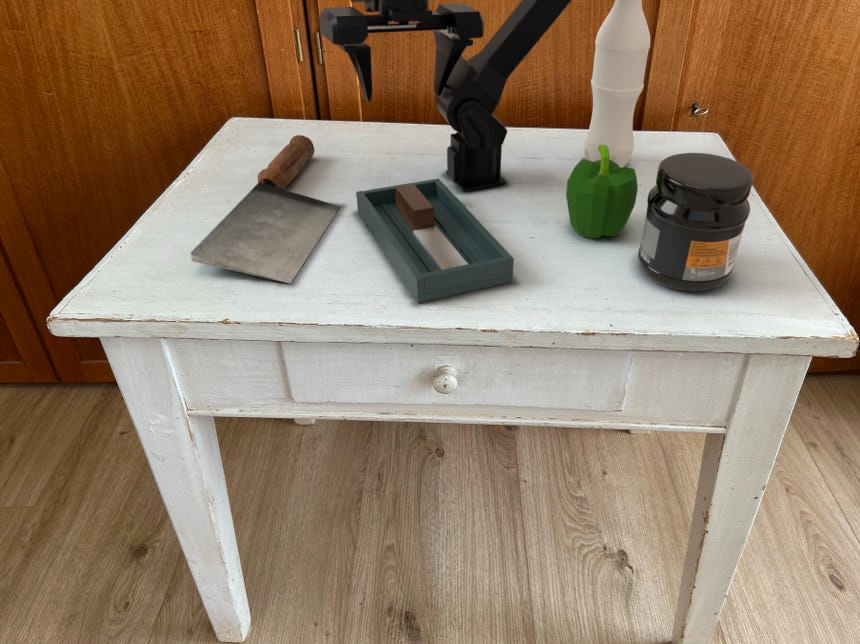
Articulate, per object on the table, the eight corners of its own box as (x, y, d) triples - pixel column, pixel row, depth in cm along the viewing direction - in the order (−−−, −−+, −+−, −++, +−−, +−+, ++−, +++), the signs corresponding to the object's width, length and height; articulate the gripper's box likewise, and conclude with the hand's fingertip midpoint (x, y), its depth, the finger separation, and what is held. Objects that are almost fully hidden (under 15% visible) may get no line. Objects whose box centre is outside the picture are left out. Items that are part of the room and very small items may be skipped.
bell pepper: (624, 251, 83) (637, 171, 77) (556, 239, 85) (564, 160, 79) (635, 220, 89) (648, 143, 83) (571, 210, 91) (580, 134, 85)
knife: (416, 205, 89) (415, 183, 87) (470, 270, 77) (470, 246, 75) (393, 209, 88) (392, 186, 86) (444, 275, 76) (444, 251, 74)
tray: (439, 199, 93) (438, 178, 91) (512, 282, 77) (513, 258, 75) (357, 213, 89) (355, 191, 87) (417, 303, 73) (416, 279, 72)
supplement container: (747, 292, 77) (778, 188, 69) (655, 299, 75) (677, 194, 68) (706, 244, 85) (730, 147, 77) (622, 250, 83) (639, 152, 76)
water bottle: (638, 161, 104) (670, -29, 89) (618, 178, 99) (648, -21, 84) (594, 150, 107) (617, -36, 92) (573, 166, 102) (594, -28, 87)
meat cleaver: (291, 283, 76) (286, 250, 73) (191, 274, 77) (182, 242, 74) (369, 163, 102) (367, 136, 100) (293, 157, 103) (289, 130, 101)
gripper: (450, -56, 88) (445, 74, 97) (301, -57, 81) (312, 83, 90) (490, -40, 80) (481, 99, 90) (329, -40, 73) (338, 112, 82)
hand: (403, 97), depth 88 cm, fingers open, 9 cm apart
